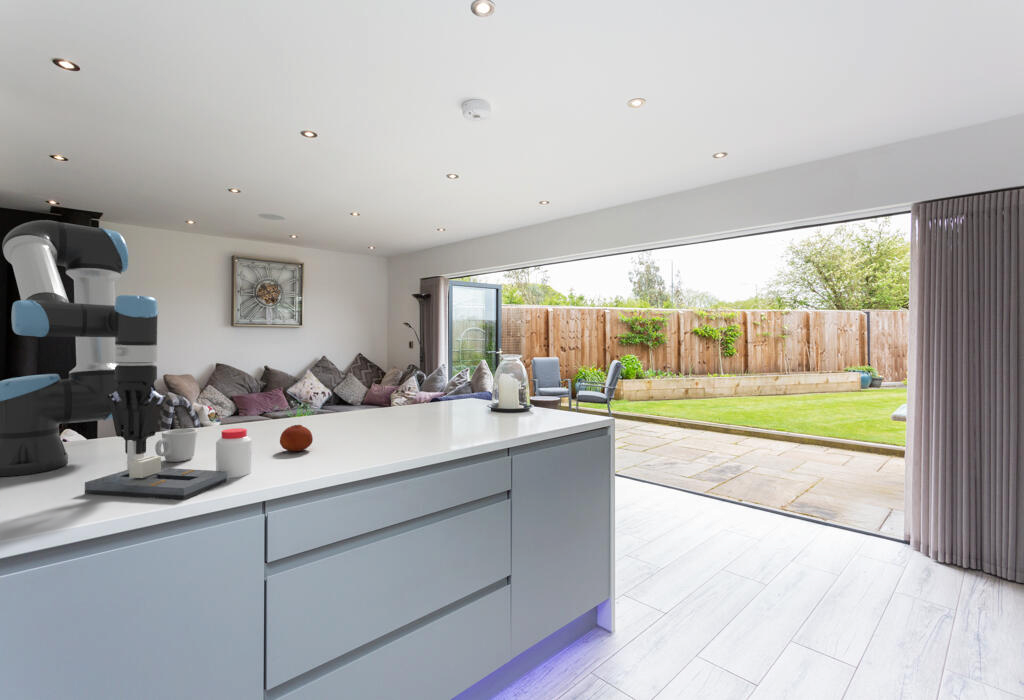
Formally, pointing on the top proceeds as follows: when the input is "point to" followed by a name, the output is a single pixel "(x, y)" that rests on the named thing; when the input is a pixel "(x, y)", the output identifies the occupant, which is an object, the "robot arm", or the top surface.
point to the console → (158, 484)
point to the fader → (145, 467)
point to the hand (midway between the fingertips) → (135, 467)
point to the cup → (177, 444)
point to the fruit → (296, 438)
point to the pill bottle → (234, 452)
